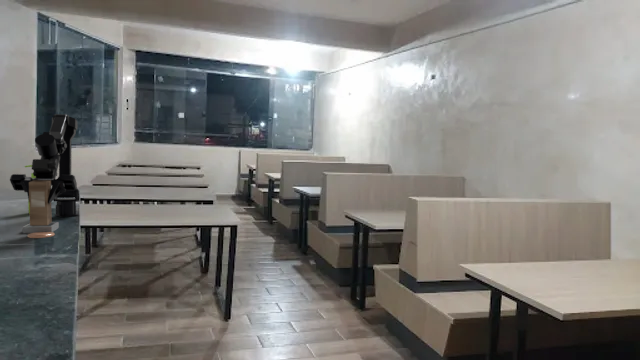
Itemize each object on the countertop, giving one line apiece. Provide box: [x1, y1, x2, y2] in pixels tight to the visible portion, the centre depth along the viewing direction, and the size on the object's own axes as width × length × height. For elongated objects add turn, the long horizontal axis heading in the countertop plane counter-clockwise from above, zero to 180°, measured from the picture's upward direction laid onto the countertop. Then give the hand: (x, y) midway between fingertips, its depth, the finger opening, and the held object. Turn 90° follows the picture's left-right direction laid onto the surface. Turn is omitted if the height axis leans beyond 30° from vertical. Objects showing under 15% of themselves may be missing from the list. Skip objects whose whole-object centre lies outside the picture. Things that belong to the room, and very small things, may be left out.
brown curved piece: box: [27, 231, 55, 239], centre depth 154 cm, size 8×8×1 cm
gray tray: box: [22, 221, 60, 234], centre depth 162 cm, size 9×9×2 cm
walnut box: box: [29, 180, 53, 226], centre depth 153 cm, size 5×5×14 cm
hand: (39, 202), depth 152 cm, fingers closed on walnut box, 5 cm apart
